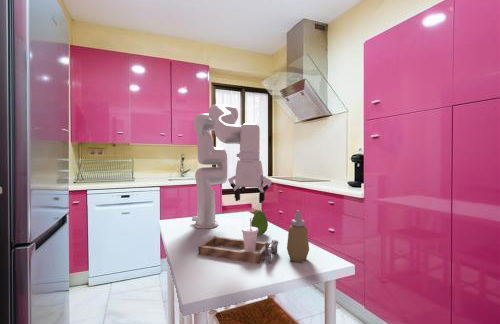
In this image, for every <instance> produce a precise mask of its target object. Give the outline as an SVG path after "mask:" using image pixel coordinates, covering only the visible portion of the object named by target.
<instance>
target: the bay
mask: <svg viewBox="0 0 500 324" xmlns="http://www.w3.org/2000/svg"><path fill="white" fill-rule="evenodd" d="M265 242H266V241H265ZM265 242H263V241H257V240H256V248H255V253H252V252H245V247H244V239H241V238H230V237H223V236H212V237H211V238H209V239H208V240H206V241H205V242H203V243H202V244H200V245H199V246H198V247H197V250H198V251H197V252H198V255H201V256H207V257H213V258H219V259H220V258H221V259H227V260H231V261H239V262H247V263H251V264H252V263H253V264H258V265H260V264H261V263H262V262H263V260H265V254H264V251H265ZM270 243H271V242H268V246H269V245H270ZM215 246H223V247H230V249H229V248H223V247H215ZM231 248H238V249H239V250H236V249H231Z"/></svg>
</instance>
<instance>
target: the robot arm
mask: <svg viewBox="0 0 500 324" xmlns="http://www.w3.org/2000/svg"><path fill="white" fill-rule="evenodd" d="M238 119H239V111H238V108H236V107H235V106H234V105H230V104H229V105H228V104H215V103H214V104H212V105H210V107H208V110H207V113H198V114H196V116H195V117H194V120H193V122H194V123H193V128H194V132H195V135H196V140H197V160H198V163H199V164H200V165H206V167H199V168H198V169H196V171H195V174H194V176H195V177H194V179H195V183H196V198H197V200H196V201H197V202H196V203H197V204H196V206H197V209H196V210H197V214H196V215H197V216H192V218H191V221H192V222H195V223H194V227H195V228H197V229H204V230H207V229H213V228H217V227H218V226H219V222H218V221H216V192H215V190H214V189H213V187H212V185H222V184H226V182H227V181H228V182H229V184H230V187H231V188H232V189H233V192H234V201H235V202H238V201H240V200H241V190H240V188H242V187H243V188H257V189H258V190H259V193H258V196H259V197H258V203H259V204H262V203H264V201H265V200H266V199H265V198H266V197H265V195H266V194H265V192H266V191H267V190H268V189H270V186H271V184H272V183H273V181H272V179H270V178H268V177H266V176H264V171H263V163H262V160H260V140H261V138H260V137H261V134H260V133H261V129H260V125H258V124H256V123H243V124H236V122H237V121H238ZM209 131H214V134H215V137H216V138H217V139H218V140H219V141H220V143H223V144H229V145H239V153H236V157H237V158H239V160H237V162H236V168H235V175H234V176H232V177H229V178H228V154H227V151H226V149H225V148H223V147H219V146H218V147H217V146H216V147H215V145H214V138H213V135H212V134H211V132H209ZM207 165H208V166H207ZM211 165H214V167H213V166H211ZM215 165H216V166H215ZM264 182H265V186H264V185H263V184H264Z"/></svg>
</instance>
